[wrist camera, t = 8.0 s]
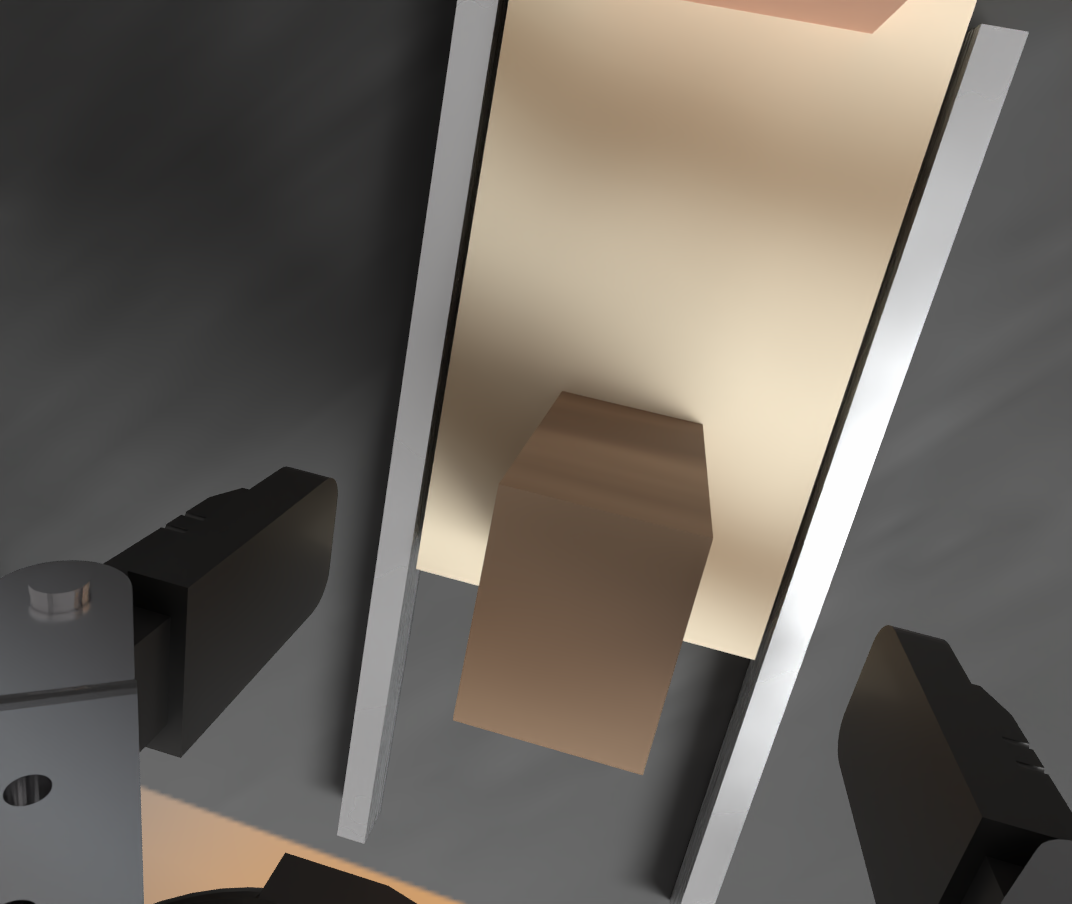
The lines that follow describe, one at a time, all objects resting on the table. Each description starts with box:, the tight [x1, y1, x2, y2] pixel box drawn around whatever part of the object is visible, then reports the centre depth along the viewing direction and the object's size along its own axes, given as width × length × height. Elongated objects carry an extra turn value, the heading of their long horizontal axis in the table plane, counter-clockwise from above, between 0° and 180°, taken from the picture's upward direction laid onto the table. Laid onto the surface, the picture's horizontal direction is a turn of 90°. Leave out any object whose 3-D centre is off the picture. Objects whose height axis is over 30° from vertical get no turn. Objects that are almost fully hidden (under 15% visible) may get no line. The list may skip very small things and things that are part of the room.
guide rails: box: [337, 0, 1029, 904], centre depth 18 cm, size 22×10×1 cm, turn 168°
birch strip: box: [416, 0, 977, 775], centre depth 12 cm, size 22×8×8 cm, turn 168°
